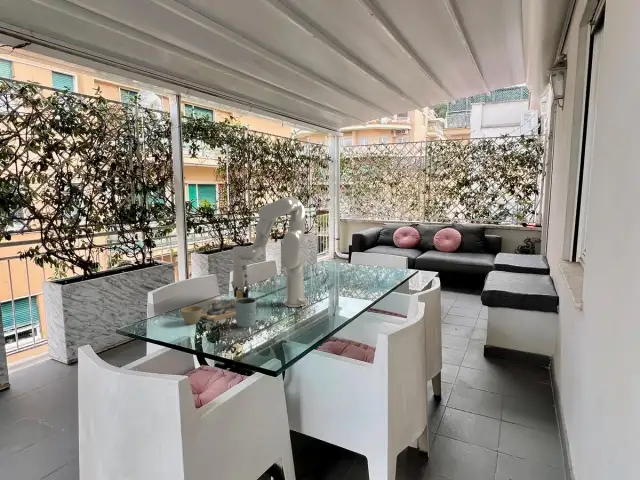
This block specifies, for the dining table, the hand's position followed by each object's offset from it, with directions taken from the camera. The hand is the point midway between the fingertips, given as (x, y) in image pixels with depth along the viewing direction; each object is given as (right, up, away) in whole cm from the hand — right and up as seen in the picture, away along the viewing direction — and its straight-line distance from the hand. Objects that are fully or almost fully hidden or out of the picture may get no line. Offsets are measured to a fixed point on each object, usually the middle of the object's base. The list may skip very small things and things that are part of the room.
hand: (241, 297), depth 220 cm
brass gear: (0, -2, 0) cm, 3 cm away
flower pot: (-17, -7, -33) cm, 38 cm away
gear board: (-4, -5, -18) cm, 19 cm away
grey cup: (+10, -8, -37) cm, 39 cm away
